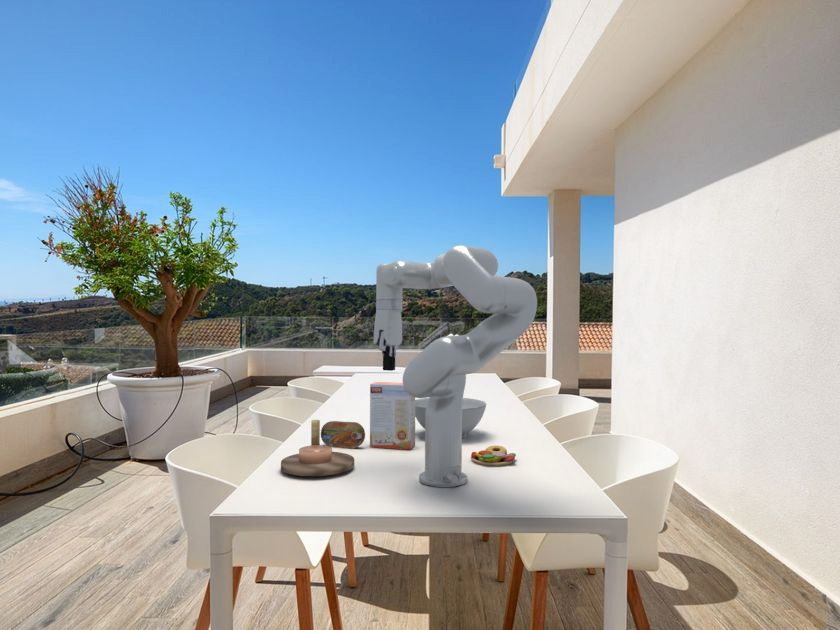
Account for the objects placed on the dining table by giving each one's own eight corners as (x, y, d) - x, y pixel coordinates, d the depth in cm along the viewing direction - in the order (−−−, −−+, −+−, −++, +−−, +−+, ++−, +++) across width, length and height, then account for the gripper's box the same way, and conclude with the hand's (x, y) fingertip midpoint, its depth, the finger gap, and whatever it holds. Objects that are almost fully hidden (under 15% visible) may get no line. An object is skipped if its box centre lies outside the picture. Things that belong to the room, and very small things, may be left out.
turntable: (323, 480, 135) (324, 436, 135) (264, 469, 144) (265, 428, 144) (368, 462, 152) (368, 423, 152) (313, 453, 162) (313, 416, 162)
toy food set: (499, 454, 167) (499, 443, 167) (525, 464, 155) (525, 453, 155) (462, 459, 161) (462, 448, 161) (487, 470, 149) (487, 458, 149)
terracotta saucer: (316, 465, 143) (316, 454, 143) (291, 461, 147) (292, 449, 147) (338, 458, 150) (338, 447, 150) (314, 454, 155) (314, 443, 155)
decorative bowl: (430, 426, 209) (430, 395, 209) (495, 432, 198) (496, 400, 198) (397, 439, 185) (397, 404, 185) (470, 448, 173) (470, 411, 174)
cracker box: (415, 446, 176) (416, 382, 176) (410, 450, 170) (411, 384, 170) (375, 443, 180) (375, 381, 180) (369, 447, 174) (369, 383, 174)
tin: (320, 446, 175) (320, 420, 175) (324, 444, 178) (324, 418, 178) (362, 450, 171) (362, 423, 171) (366, 447, 174) (366, 421, 174)
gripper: (388, 307, 163) (388, 367, 163) (365, 306, 149) (365, 372, 149) (411, 307, 160) (411, 368, 160) (389, 305, 146) (389, 373, 146)
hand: (389, 370), depth 154 cm, fingers closed
